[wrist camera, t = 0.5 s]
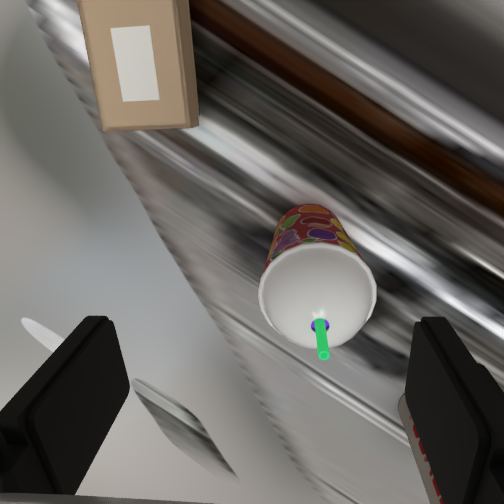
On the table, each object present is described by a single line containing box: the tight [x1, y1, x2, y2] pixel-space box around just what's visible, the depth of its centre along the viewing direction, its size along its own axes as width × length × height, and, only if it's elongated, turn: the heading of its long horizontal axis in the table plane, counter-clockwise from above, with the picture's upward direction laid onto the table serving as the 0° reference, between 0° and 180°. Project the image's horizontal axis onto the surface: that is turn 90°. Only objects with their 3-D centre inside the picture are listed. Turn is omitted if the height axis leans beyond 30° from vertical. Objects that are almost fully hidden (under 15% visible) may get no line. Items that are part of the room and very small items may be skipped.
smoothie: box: [258, 204, 376, 360], centre depth 29 cm, size 8×8×20 cm
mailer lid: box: [77, 0, 199, 132], centre depth 28 cm, size 13×7×3 cm, turn 3°
